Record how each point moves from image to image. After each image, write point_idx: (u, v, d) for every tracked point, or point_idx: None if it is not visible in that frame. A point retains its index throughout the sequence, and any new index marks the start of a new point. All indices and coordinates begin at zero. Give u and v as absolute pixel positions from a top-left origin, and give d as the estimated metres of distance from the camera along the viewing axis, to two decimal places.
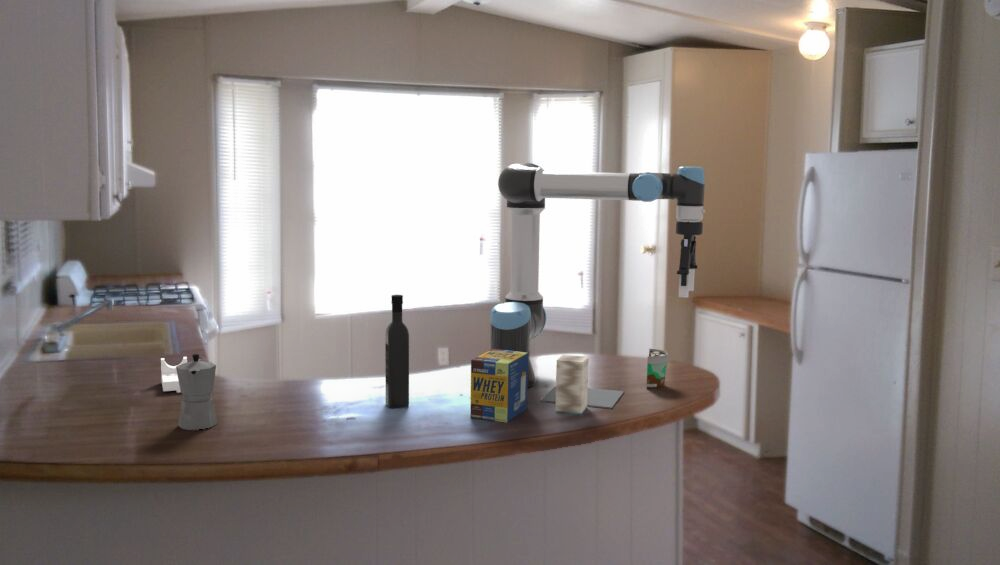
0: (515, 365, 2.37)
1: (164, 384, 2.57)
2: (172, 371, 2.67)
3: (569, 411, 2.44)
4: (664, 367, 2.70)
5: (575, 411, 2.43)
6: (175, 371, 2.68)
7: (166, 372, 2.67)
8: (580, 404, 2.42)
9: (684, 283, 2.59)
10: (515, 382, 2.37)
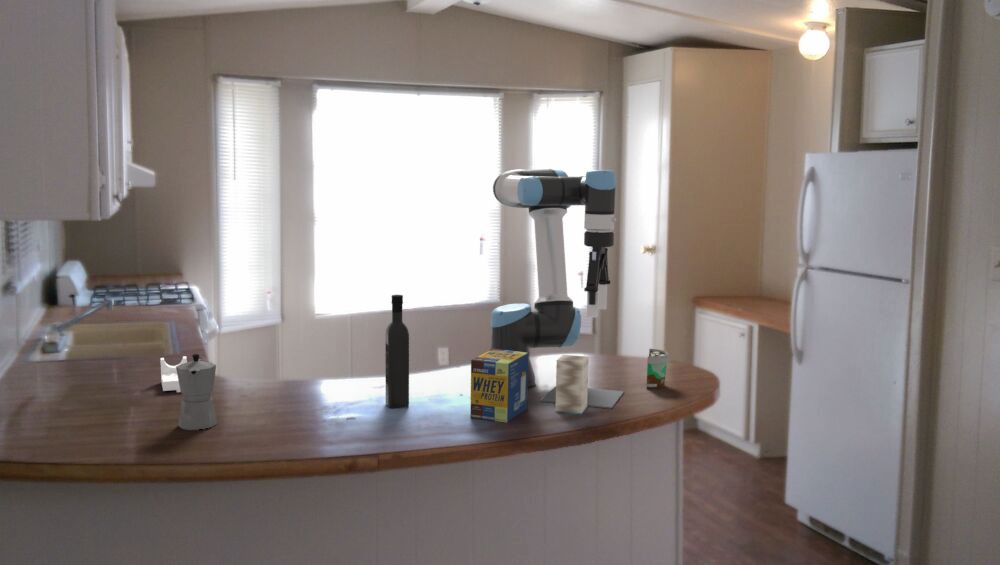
0: (515, 365, 2.37)
1: (164, 384, 2.57)
2: (172, 371, 2.68)
3: (569, 411, 2.44)
4: (664, 367, 2.70)
5: (575, 411, 2.43)
6: (175, 371, 2.68)
7: (166, 372, 2.67)
8: (580, 404, 2.42)
9: (592, 301, 2.29)
10: (515, 382, 2.37)
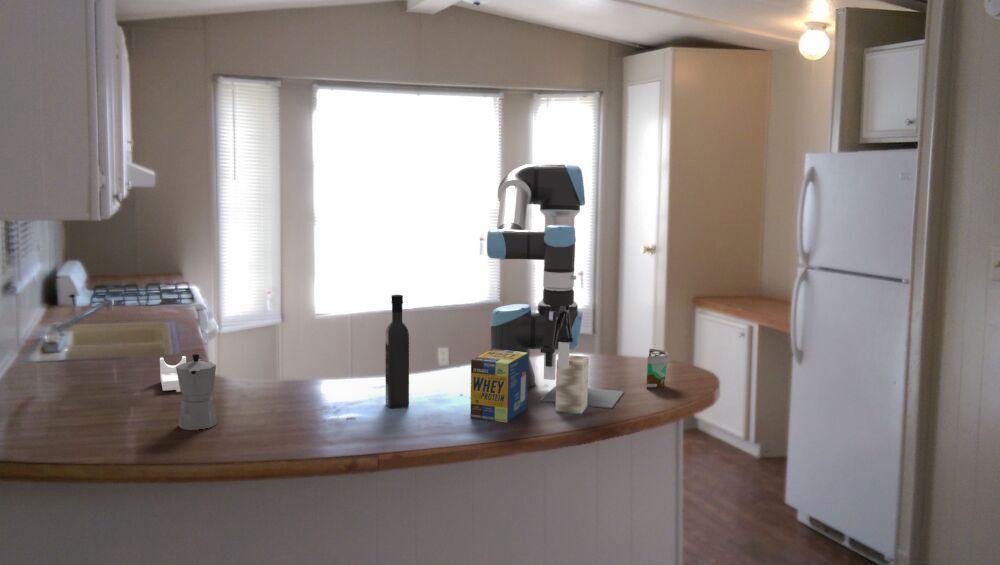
0: (515, 365, 2.37)
1: (164, 383, 2.58)
2: (171, 370, 2.68)
3: (569, 411, 2.44)
4: (664, 367, 2.70)
5: (575, 411, 2.43)
6: (174, 370, 2.68)
7: (165, 371, 2.67)
8: (580, 404, 2.42)
9: (549, 363, 2.20)
10: (515, 382, 2.37)
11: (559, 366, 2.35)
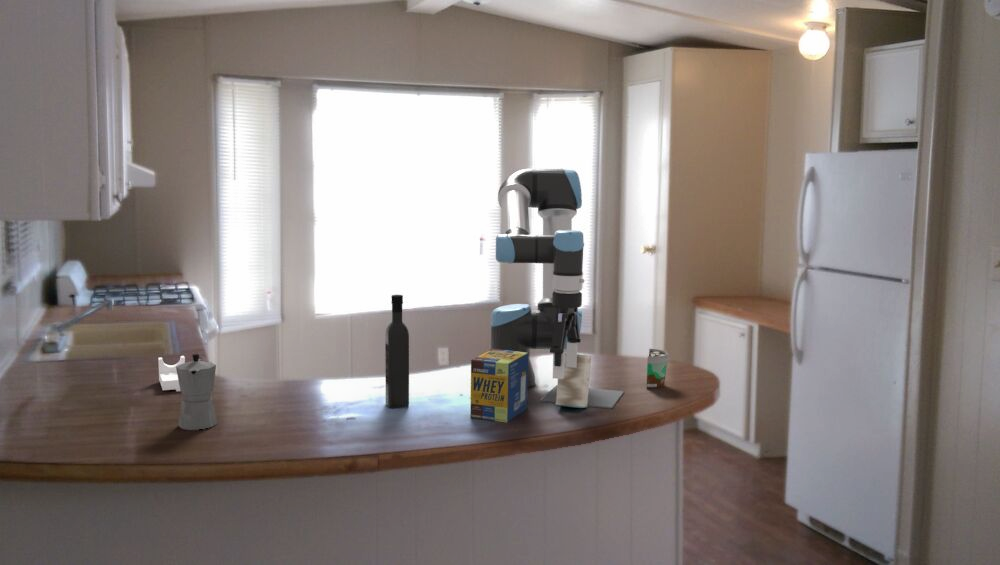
0: (515, 365, 2.37)
1: (163, 383, 2.58)
2: (170, 370, 2.68)
3: (569, 405, 2.44)
4: (664, 367, 2.70)
5: (575, 405, 2.43)
6: (173, 370, 2.69)
7: (164, 371, 2.68)
8: (581, 397, 2.43)
9: (558, 363, 2.29)
10: (515, 382, 2.37)
11: (567, 366, 2.44)
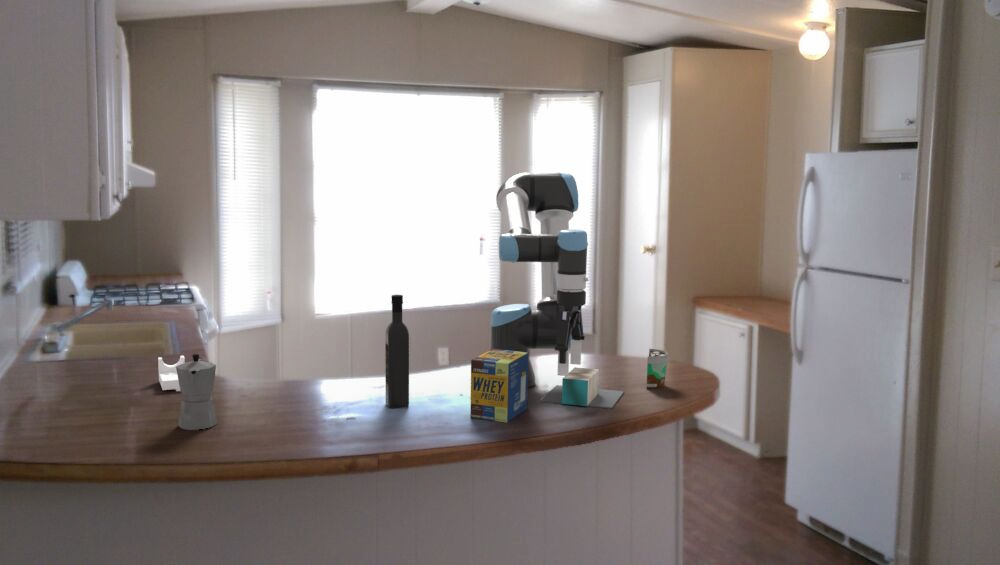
0: (515, 365, 2.37)
1: (163, 383, 2.58)
2: (170, 370, 2.68)
3: (576, 379, 2.50)
4: (664, 367, 2.70)
5: (582, 379, 2.49)
6: (173, 370, 2.69)
7: (164, 371, 2.68)
8: (588, 378, 2.51)
9: (562, 360, 2.34)
10: (515, 382, 2.37)
11: (571, 362, 2.49)
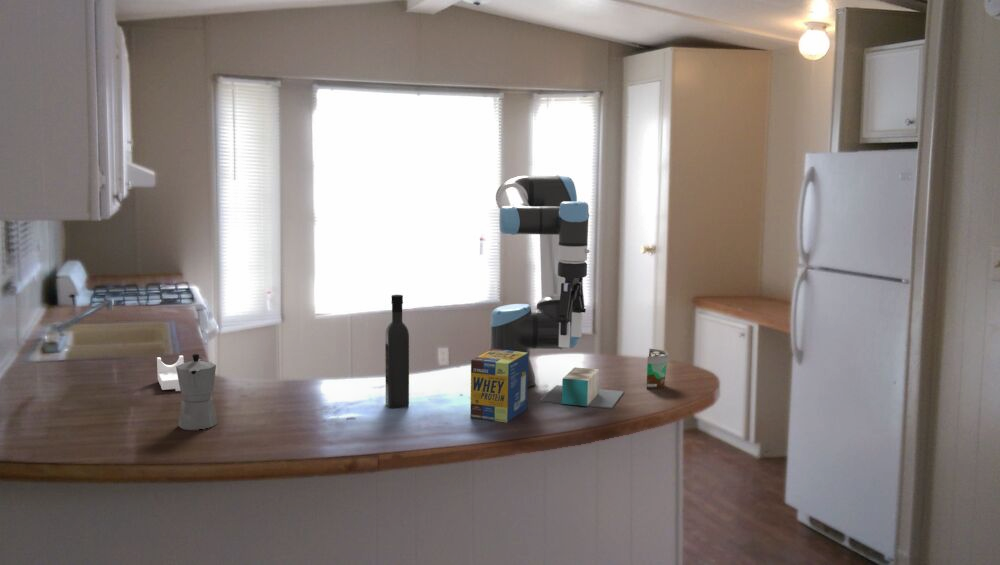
0: (515, 365, 2.37)
1: (163, 383, 2.58)
2: (169, 370, 2.69)
3: (576, 379, 2.50)
4: (664, 367, 2.70)
5: (582, 379, 2.49)
6: (172, 370, 2.69)
7: (163, 371, 2.68)
8: (588, 378, 2.51)
9: (564, 332, 2.33)
10: (515, 382, 2.37)
11: (572, 335, 2.48)
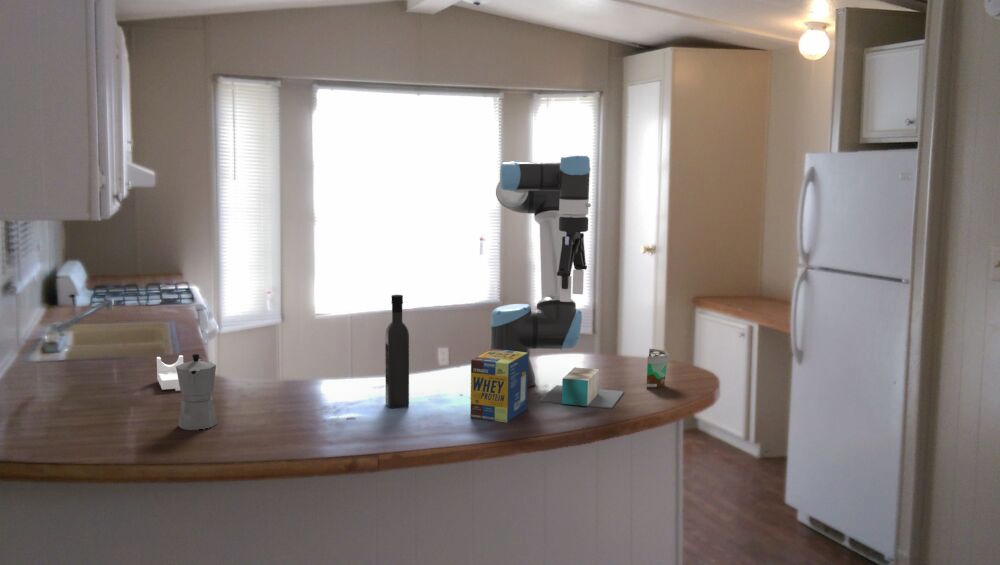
0: (515, 365, 2.37)
1: (163, 382, 2.59)
2: (168, 370, 2.69)
3: (576, 379, 2.50)
4: (664, 367, 2.70)
5: (582, 379, 2.49)
6: (171, 370, 2.69)
7: (162, 371, 2.68)
8: (588, 378, 2.51)
9: (565, 286, 2.31)
10: (515, 382, 2.37)
11: (574, 292, 2.46)
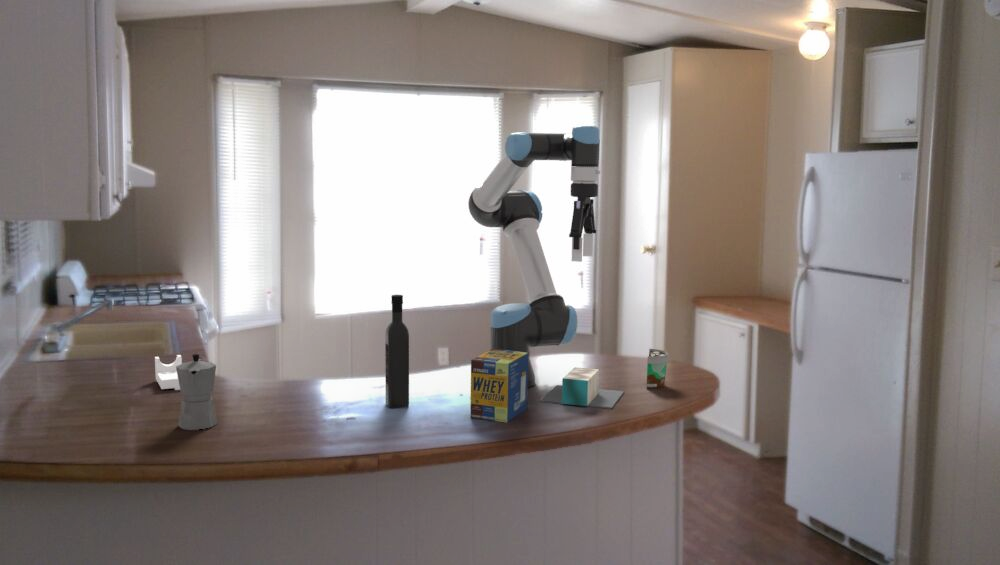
0: (515, 365, 2.37)
1: (162, 382, 2.59)
2: (167, 369, 2.69)
3: (576, 379, 2.50)
4: (664, 367, 2.70)
5: (582, 379, 2.49)
6: (170, 369, 2.70)
7: (161, 370, 2.69)
8: (588, 378, 2.51)
9: (576, 246, 2.50)
10: (515, 382, 2.37)
11: (584, 255, 2.65)
